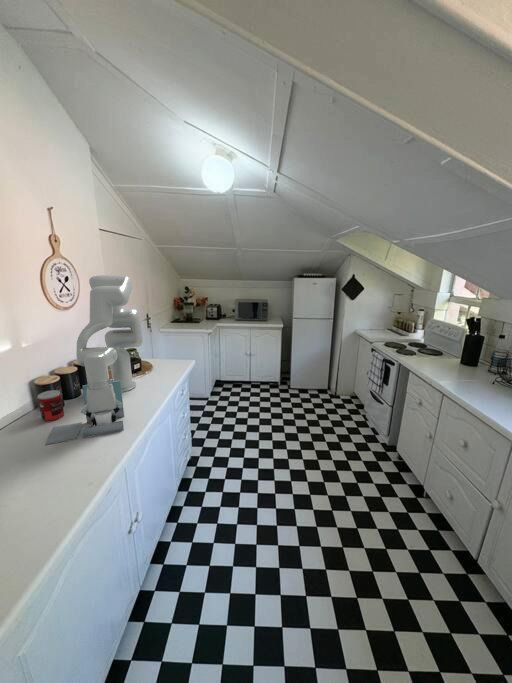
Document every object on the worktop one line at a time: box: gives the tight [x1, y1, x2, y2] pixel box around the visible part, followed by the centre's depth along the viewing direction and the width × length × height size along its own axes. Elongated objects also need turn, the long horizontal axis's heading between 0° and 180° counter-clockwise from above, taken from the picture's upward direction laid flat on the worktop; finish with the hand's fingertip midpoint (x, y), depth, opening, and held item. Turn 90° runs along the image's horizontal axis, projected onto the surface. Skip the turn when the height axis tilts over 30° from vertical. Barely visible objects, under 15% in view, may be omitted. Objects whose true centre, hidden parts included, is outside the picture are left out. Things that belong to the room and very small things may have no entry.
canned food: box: [37, 389, 65, 422], centre depth 121 cm, size 8×8×11 cm
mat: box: [45, 421, 83, 446], centre depth 111 cm, size 12×10×1 cm
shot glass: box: [94, 410, 112, 425], centre depth 115 cm, size 7×7×7 cm
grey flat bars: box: [81, 407, 125, 439], centre depth 116 cm, size 12×14×4 cm
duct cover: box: [82, 381, 124, 411], centre depth 120 cm, size 12×14×1 cm
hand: (104, 424), depth 116 cm, fingers closed on shot glass, 5 cm apart
